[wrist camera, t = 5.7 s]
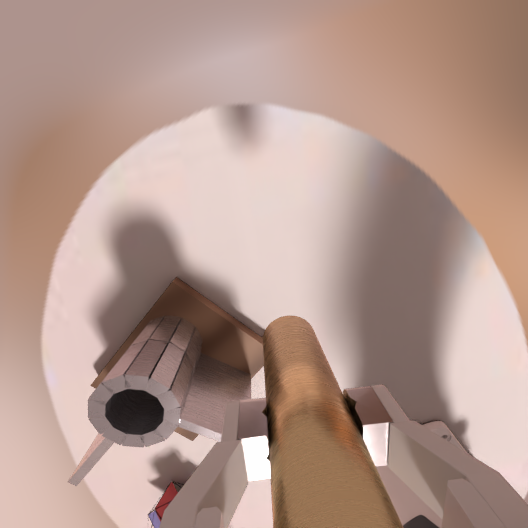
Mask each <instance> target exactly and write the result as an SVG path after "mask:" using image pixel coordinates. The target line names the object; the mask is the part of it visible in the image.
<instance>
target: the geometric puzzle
mask: <svg viewBox="0 0 528 528" xmlns="http://www.w3.org/2000/svg"><path fill="white" fill-rule="evenodd" d="M172 482H173V481H171V483H170V484H169V486H168V487H167V488H166V491H164V492H165V493H164V494H162V495H163V496H162V498H161V497H160V498H161V499H160V498H159V499H160V501H159V503H158V504H157V506H156V507H155V509H154V510H153V511H154V512H153V511H152V513H151V511H150V513H149V514H148V516H149V518H150V520H151V522H152V524H153V526H154V528H159V527H160V523H161V520H162V517H163V513H164V510H165V509H166V508H167V507H168V505H169V504H170V503H171V501H172V500H173V499H174V497H175V496H176V495H177V494H178V492H177V490H176V489H175V487H174V485H173V483H174V482H173V483H172ZM175 484H176V482H175ZM179 484H180V483H179ZM176 485H177V484H176ZM182 485H183V484H182ZM178 486H179V485H178ZM179 487H180V486H179ZM181 488H182V487H181ZM157 502H158V501H157ZM155 505H156V504H155ZM152 509H153V508H152Z"/></svg>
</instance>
